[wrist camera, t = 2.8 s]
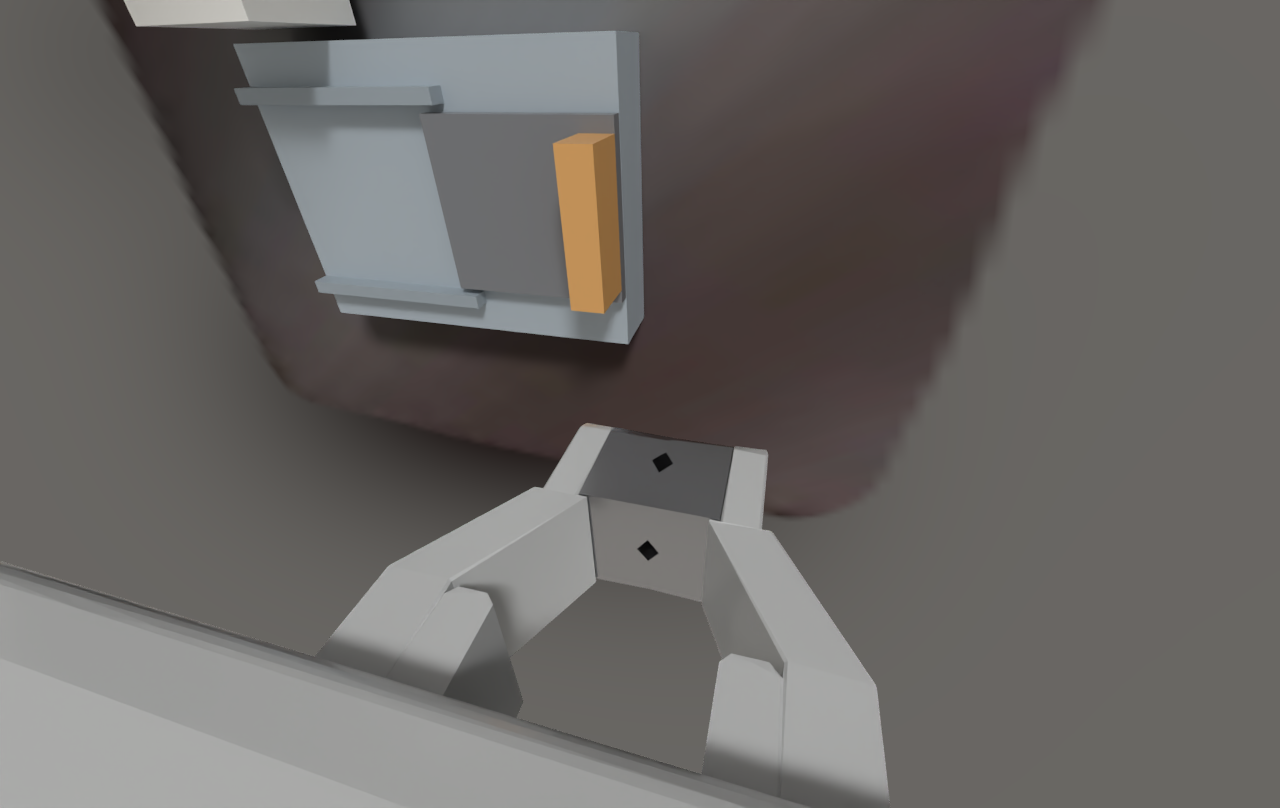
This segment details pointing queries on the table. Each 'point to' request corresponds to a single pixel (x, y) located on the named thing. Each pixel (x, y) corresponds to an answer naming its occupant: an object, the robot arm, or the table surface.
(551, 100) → the socket
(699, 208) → the table surface
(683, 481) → the robot arm
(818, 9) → the table surface
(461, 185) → the shutter
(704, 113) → the table surface
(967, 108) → the table surface
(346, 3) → the white block
